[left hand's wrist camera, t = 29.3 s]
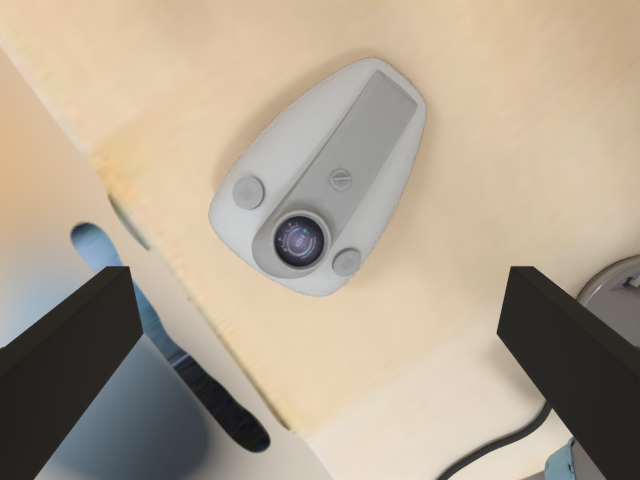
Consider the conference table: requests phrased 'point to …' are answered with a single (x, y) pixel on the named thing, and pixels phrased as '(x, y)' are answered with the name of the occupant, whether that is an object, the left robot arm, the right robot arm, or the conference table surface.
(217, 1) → the conference table surface
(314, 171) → the projector
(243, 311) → the conference table surface
